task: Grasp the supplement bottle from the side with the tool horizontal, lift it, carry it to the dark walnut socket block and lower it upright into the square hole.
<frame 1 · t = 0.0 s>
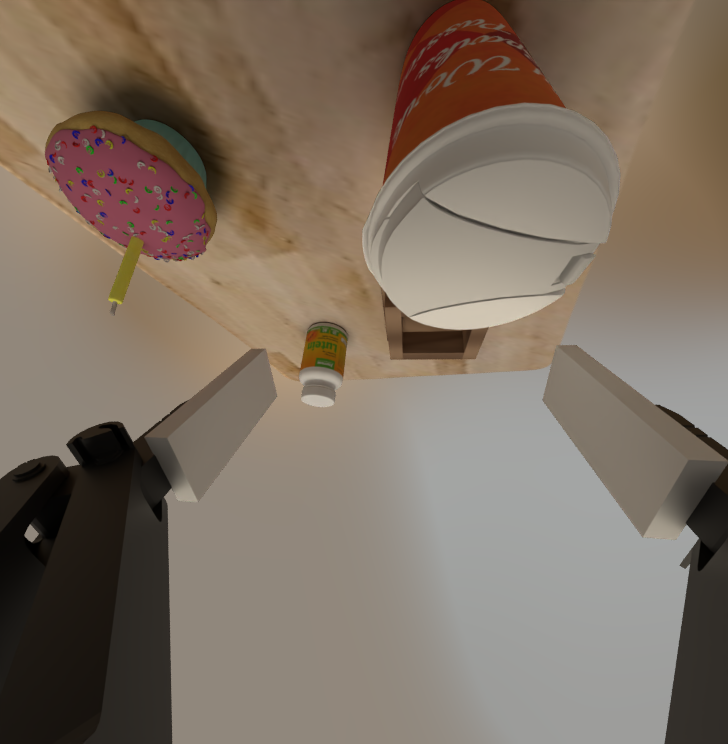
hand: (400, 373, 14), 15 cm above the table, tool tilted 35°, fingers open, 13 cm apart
socket block: (433, 306, 32), on the table
supplement bottle: (328, 332, 39), on the table
cupcake: (168, 157, 20), on the table
paper cup: (451, 77, 16), on the table
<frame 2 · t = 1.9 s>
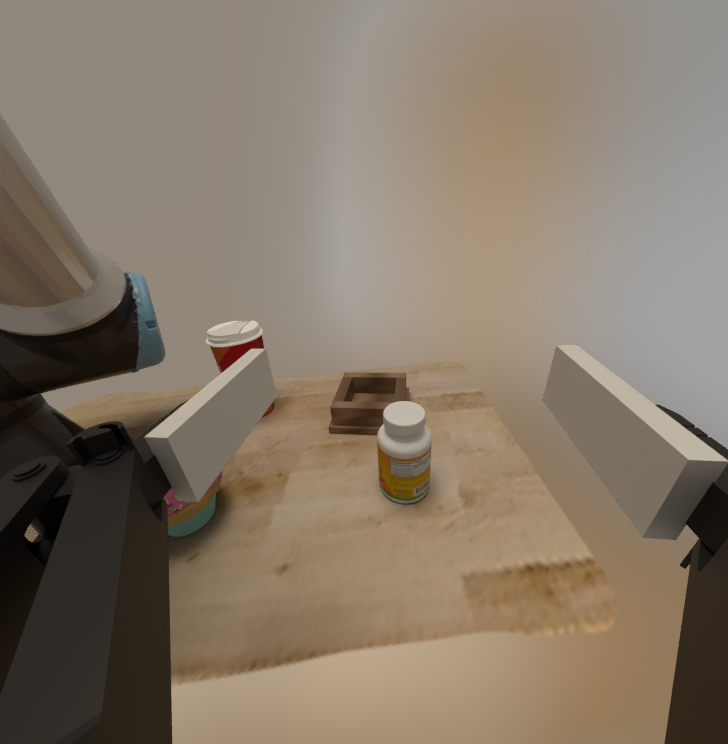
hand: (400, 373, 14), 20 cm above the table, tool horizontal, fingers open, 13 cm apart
socket block: (372, 411, 45), on the table
supplement bottle: (404, 485, 32), on the table
cupcake: (190, 517, 30), on the table
paper cup: (256, 410, 47), on the table
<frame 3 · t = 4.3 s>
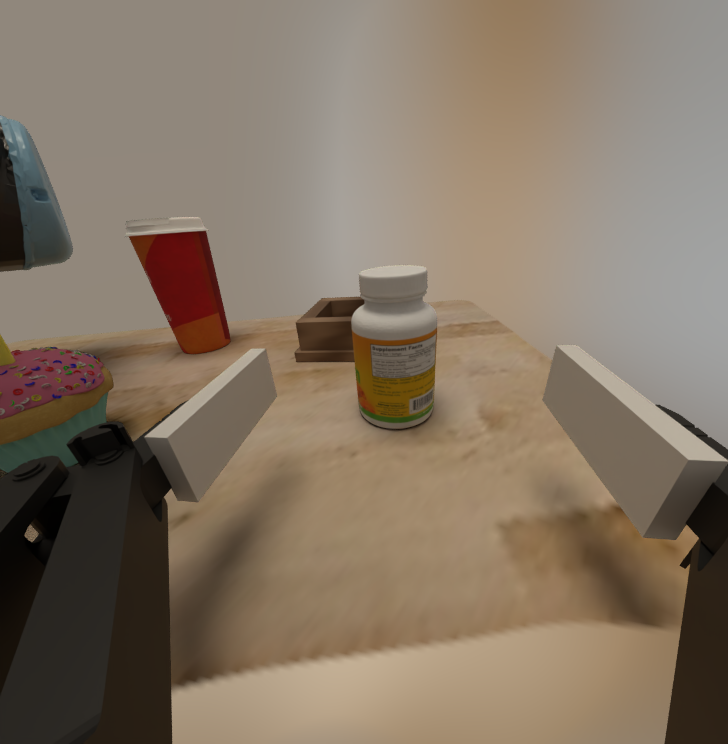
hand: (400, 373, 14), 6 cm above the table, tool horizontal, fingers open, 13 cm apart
socket block: (356, 341, 34), on the table
supplement bottle: (395, 410, 21), on the table
cupcake: (63, 455, 20), on the table
paper cup: (207, 346, 36), on the table
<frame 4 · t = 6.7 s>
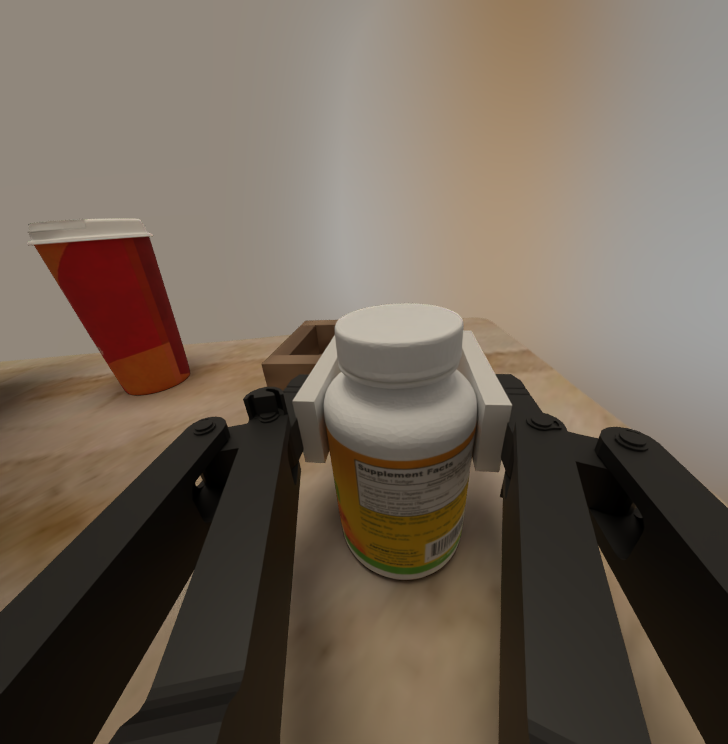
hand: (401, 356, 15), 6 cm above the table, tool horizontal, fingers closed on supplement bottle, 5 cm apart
socket block: (348, 379, 26), on the table
supplement bottle: (400, 523, 14), on the table, touching gripper
paper cup: (159, 382, 29), on the table
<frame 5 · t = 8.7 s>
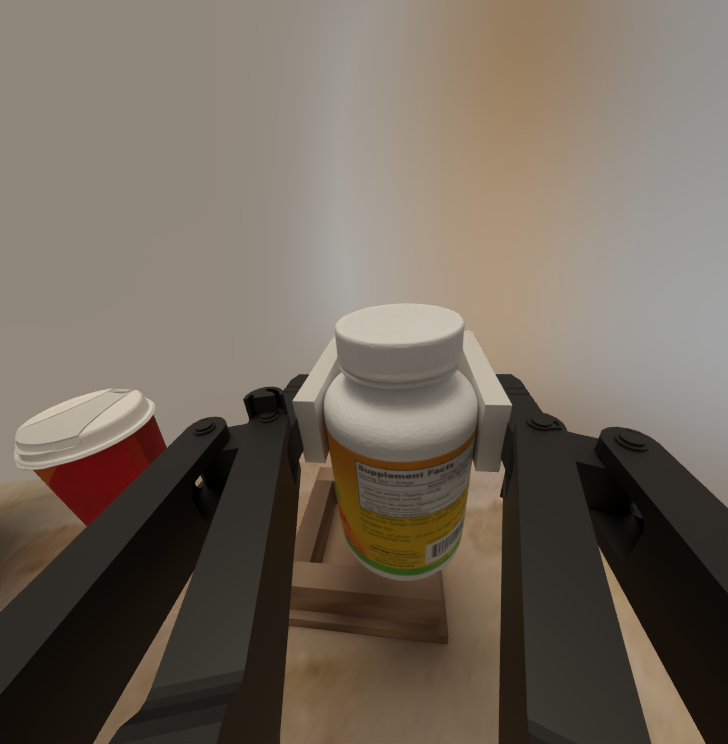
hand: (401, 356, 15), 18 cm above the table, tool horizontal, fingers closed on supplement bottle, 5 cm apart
socket block: (370, 550, 24), on the table
supplement bottle: (400, 524, 14), point 11 cm above the table, touching gripper
paper cup: (162, 541, 26), on the table
when the fingers open (9 cm above the table, at t = 11.1 s): supplement bottle drops 2 cm, resting on socket block.
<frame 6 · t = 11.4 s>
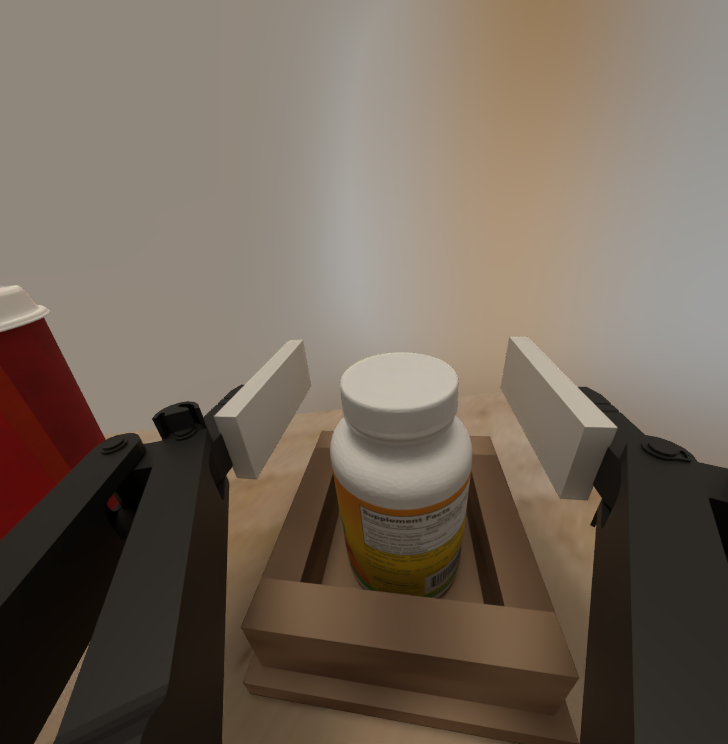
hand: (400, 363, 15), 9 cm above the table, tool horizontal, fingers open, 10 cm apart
socket block: (400, 558, 15), on the table
supplement bottle: (402, 549, 14), point 1 cm above the table, touching socket block
paper cup: (82, 537, 17), on the table
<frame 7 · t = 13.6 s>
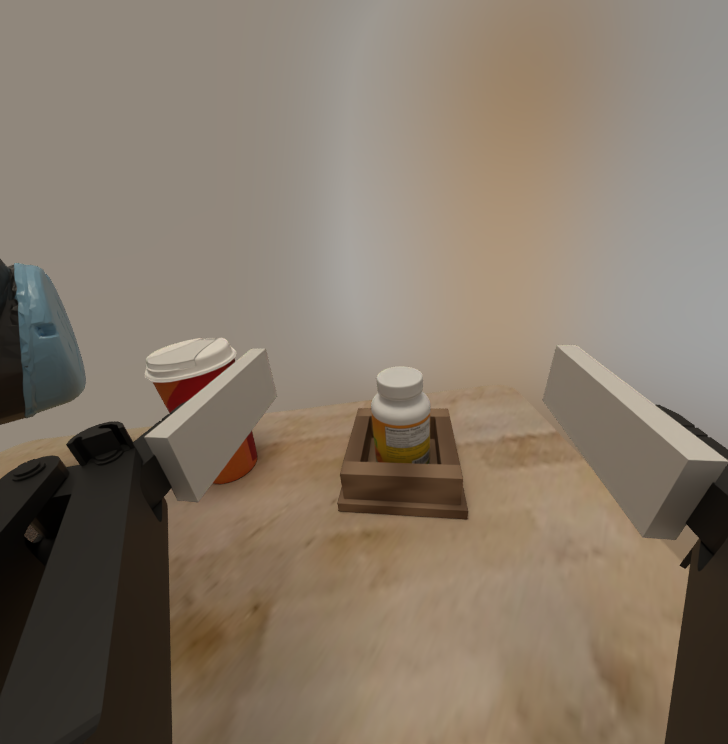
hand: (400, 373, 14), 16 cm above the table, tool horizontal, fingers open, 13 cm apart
socket block: (402, 468, 30), on the table
supplement bottle: (402, 462, 30), point 1 cm above the table, touching socket block
paper cup: (232, 466, 33), on the table
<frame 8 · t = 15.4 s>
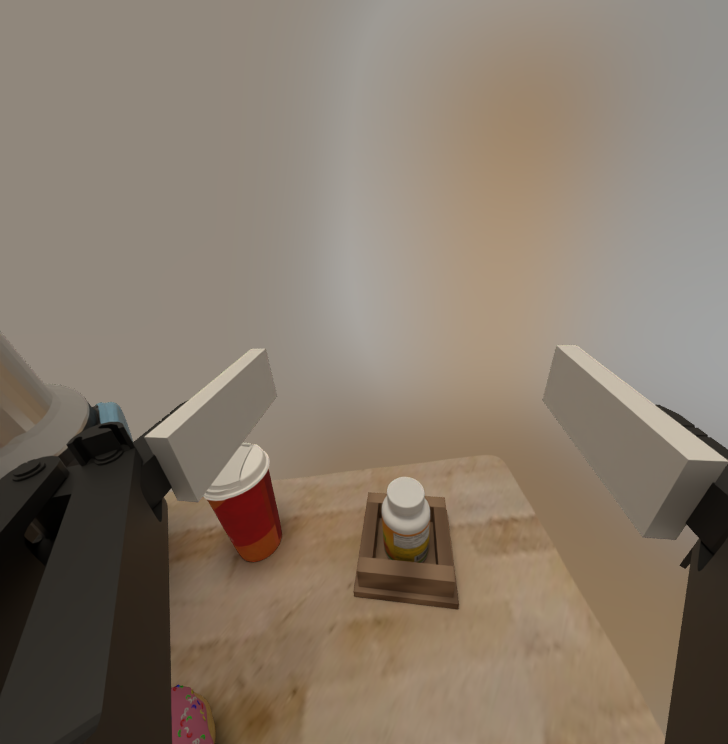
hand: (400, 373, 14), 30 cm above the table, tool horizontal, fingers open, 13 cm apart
socket block: (405, 551, 36), on the table
supplement bottle: (406, 547, 35), point 1 cm above the table, touching socket block
paper cup: (260, 541, 38), on the table
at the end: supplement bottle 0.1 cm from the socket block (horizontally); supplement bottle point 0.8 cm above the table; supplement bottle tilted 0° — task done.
